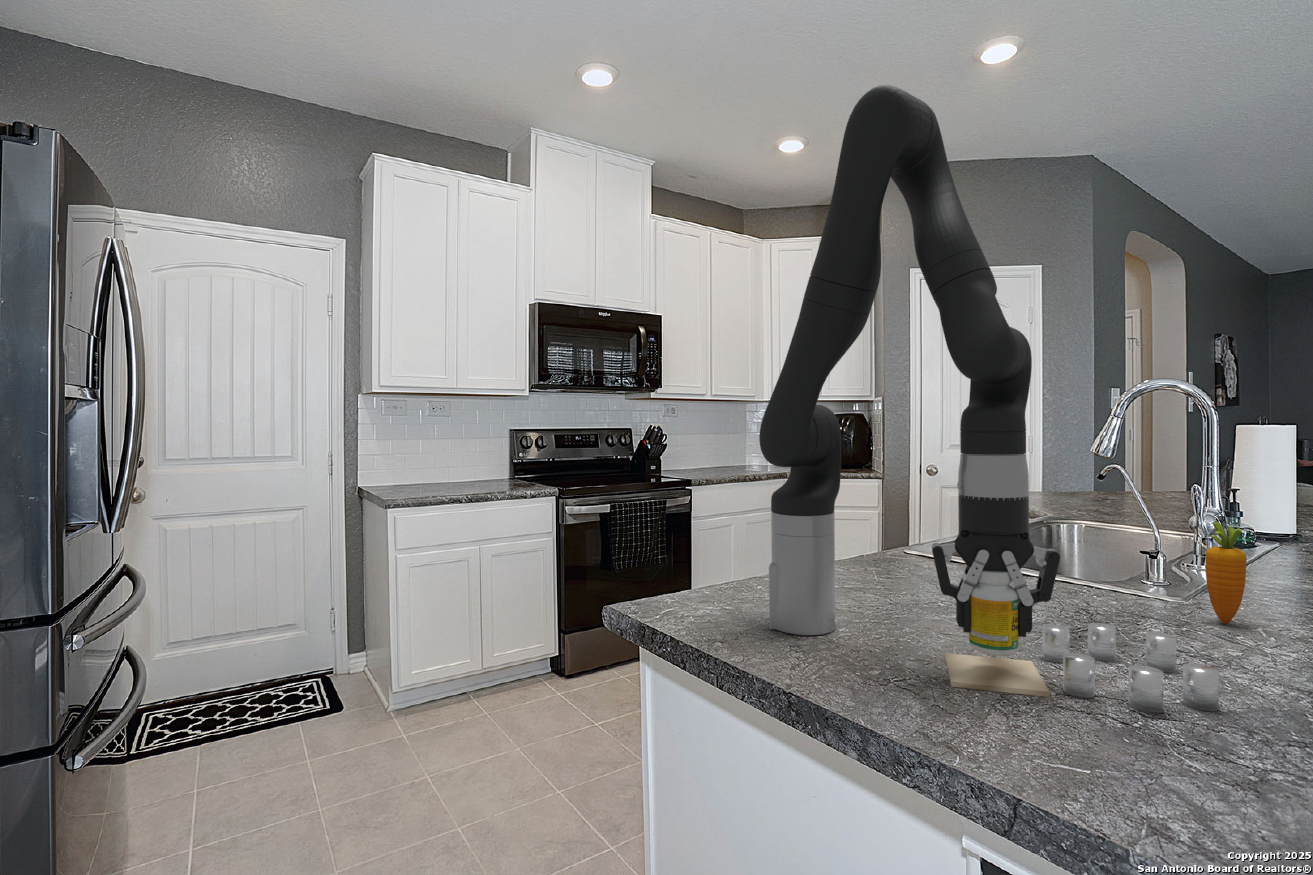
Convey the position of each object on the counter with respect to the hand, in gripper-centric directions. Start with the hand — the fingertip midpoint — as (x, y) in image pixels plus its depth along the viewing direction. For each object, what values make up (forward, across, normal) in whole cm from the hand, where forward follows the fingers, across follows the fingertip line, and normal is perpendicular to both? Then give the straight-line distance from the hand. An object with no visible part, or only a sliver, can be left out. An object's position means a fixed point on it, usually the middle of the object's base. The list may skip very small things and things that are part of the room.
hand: (993, 632), depth 81 cm
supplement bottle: (+2, 0, 0) cm, 2 cm away
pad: (+5, 0, 0) cm, 5 cm away
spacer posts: (+5, +14, +3) cm, 15 cm away
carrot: (+6, +35, +32) cm, 48 cm away
